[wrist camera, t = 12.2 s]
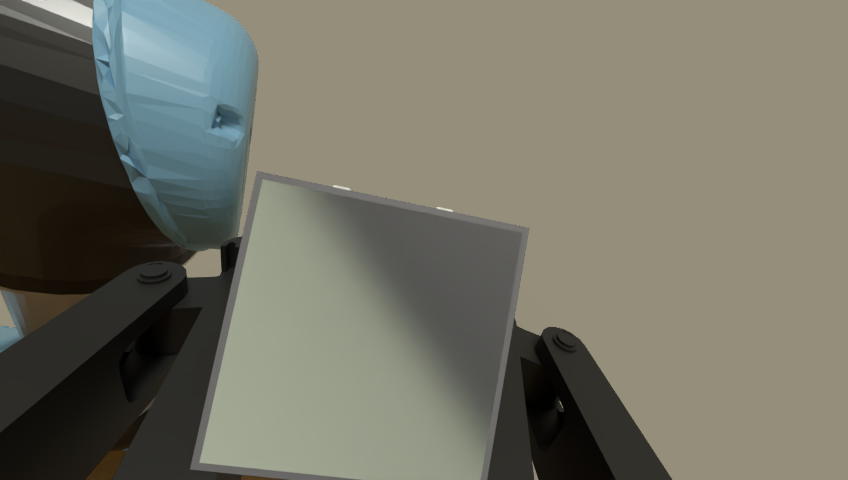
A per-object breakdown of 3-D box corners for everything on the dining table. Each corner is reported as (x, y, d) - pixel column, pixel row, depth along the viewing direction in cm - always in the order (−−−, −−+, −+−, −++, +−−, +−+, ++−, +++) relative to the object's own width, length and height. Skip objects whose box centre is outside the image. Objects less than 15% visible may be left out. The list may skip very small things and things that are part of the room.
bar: (484, 499, 5) (529, 228, 5) (190, 469, 5) (256, 170, 5) (395, 289, 35) (402, 249, 35) (354, 282, 34) (362, 242, 35)
